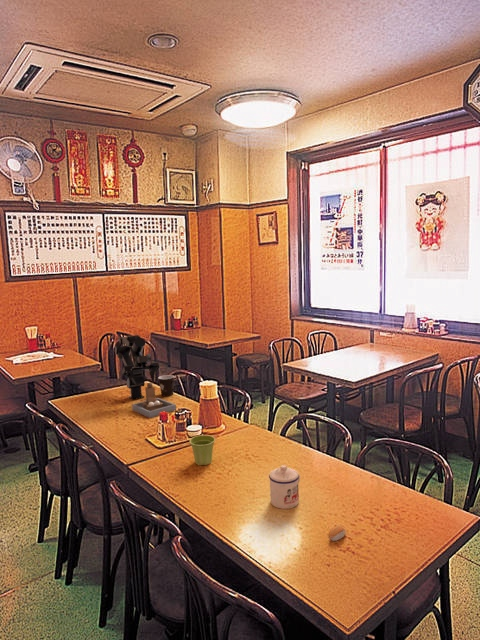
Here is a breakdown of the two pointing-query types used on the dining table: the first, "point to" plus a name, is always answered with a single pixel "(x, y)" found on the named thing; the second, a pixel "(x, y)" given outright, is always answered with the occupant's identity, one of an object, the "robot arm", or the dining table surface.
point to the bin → (166, 407)
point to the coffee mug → (167, 385)
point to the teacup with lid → (284, 487)
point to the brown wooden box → (151, 398)
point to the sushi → (336, 533)
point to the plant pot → (202, 449)
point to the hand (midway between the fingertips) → (144, 383)
